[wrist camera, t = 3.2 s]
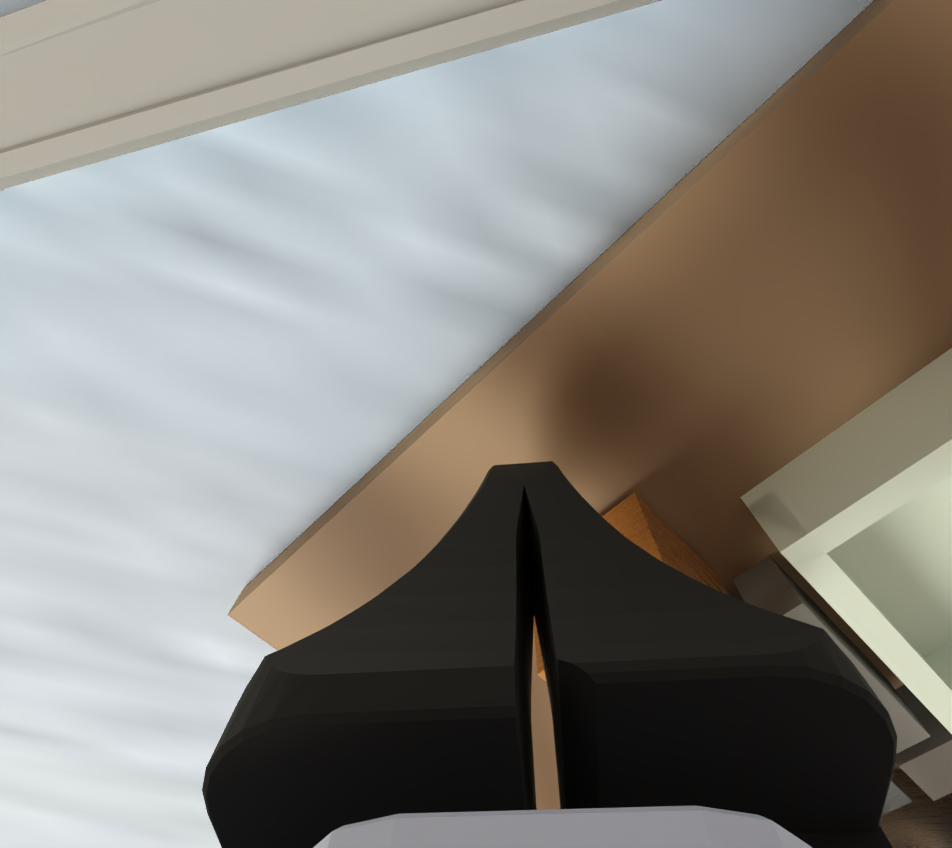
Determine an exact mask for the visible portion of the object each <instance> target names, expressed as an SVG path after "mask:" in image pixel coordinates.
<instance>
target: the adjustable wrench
mask: <svg viewBox="0 0 952 848" xmlns="http://www.w3.org/2000/svg"><path fill="white" fill-rule="evenodd" d="M657 1H661V0H46V1H43V2H41V3H38V4H35V5H33V6H30V7H27V8H25V9H22V10H19V11H17V12H14V13H11V14H9V15H6V16H3V17H1V18H0V191H1V190H3V189H5V188H8V187H12V186H15V185H19V184H22V183H26V182H29V181H33V180H36V179H40V178H43V177H47V176H50V175H54V174H57V173H61V172H64V171H68V170H71V169H75V168H78V167H82V166H85V165H89V164H92V163H96V162H99V161H103V160H106V159H110V158H113V157H117V156H120V155H124V154H127V153H131V152H134V151H137V150H141V149H144V148H148V147H151V146H155V145H158V144H162V143H165V142H169V141H172V140H176V139H179V138H183V137H186V136H190V135H193V134H197V133H200V132H204V131H207V130H211V129H214V128H218V127H221V126H225V125H228V124H232V123H235V122H239V121H242V120H246V119H249V118H253V117H256V116H260V115H263V114H267V113H270V112H274V111H277V110H280V109H284V108H287V107H291V106H294V105H298V104H301V103H305V102H308V101H312V100H315V99H319V98H322V97H326V96H329V95H333V94H336V93H340V92H343V91H347V90H350V89H354V88H357V87H361V86H364V85H368V84H371V83H375V82H378V81H382V80H385V79H389V78H392V77H396V76H399V75H403V74H406V73H410V72H413V71H416V70H420V69H423V68H427V67H430V66H434V65H437V64H441V63H444V62H448V61H451V60H455V59H458V58H462V57H465V56H469V55H472V54H476V53H479V52H483V51H486V50H490V49H493V48H497V47H500V46H504V45H507V44H511V43H514V42H518V41H521V40H525V39H528V38H532V37H535V36H539V35H542V34H546V33H549V32H553V31H556V30H559V29H563V28H566V27H570V26H573V25H577V24H580V23H584V22H587V21H591V20H594V19H598V18H601V17H605V16H608V15H612V14H615V13H619V12H622V11H626V10H629V9H633V8H636V7H640V6H643V5H647V4H650V3H654V2H657Z"/></svg>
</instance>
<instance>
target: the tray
mask: <svg viewBox="0 0 952 848" xmlns="http://www.w3.org/2000/svg"><path fill="white" fill-rule="evenodd" d="M740 498H741V499H742V500H743V502H744V503H745V504H746V506H747V507H748V509H749V510H750V511H751V513H752V514H753V516H754V517H755V518H756V520H757V521H758V522H759V524H760V525H761V527H762V528H763V529H764V531H765V532H766V533H767V535H768V536H769V538H770V539H771V540H772V542H773V543H774V545H775V546H776V547H777V549H778V550H779V551H780V553H781V554H782V555H783V556H784V557H785V558H786V559H787V560H788V561H789V562H790V563H791V564H792V565H793V567H794V568H795V569H796V570H797V571H798V572H799V573H800V574H801V575H802V576H803V577H804V578H805V579H806V580H807V581H808V582H809V583H810V585H811V586H812V587H813V588H814V589H815V590H816V591H817V592H818V593H819V594H820V595H821V596H822V597H823V598H824V599H825V600H826V602H827V603H828V604H829V605H830V606H831V607H832V608H833V609H834V610H835V611H836V612H837V613H838V614H839V615H840V616H841V617H842V619H843V620H844V621H845V622H846V623H847V624H848V625H849V626H850V627H851V628H852V629H853V630H854V631H855V632H856V633H857V634H858V636H859V637H860V638H861V639H862V640H863V641H864V642H865V643H866V644H867V645H868V646H869V647H870V648H871V649H872V650H873V651H874V652H875V654H876V655H877V656H878V657H879V658H880V659H881V660H882V661H883V662H884V663H885V664H886V665H887V666H888V667H889V668H890V669H891V671H892V672H893V673H894V674H895V675H896V676H897V677H898V678H899V679H900V680H901V681H902V682H903V683H904V684H905V685H906V686H907V688H908V689H909V690H910V691H911V692H912V693H913V694H914V695H915V696H916V697H917V698H918V699H919V700H920V701H921V702H922V703H923V705H924V706H925V707H926V708H927V709H928V710H929V711H930V712H931V713H932V714H933V715H934V716H935V717H936V718H937V719H938V720H939V721H940V723H941V724H942V725H943V726H944V727H945V728H946V729H947V730H948V731H949V732H950V733H951V734H952V348H951V349H949V350H948V351H947V352H945V353H944V354H942V355H941V356H940V357H938V358H937V359H935V360H934V361H932V362H931V363H930V364H928V365H927V366H925V367H924V368H923V369H921V370H920V371H918V372H917V373H915V374H914V375H913V376H911V377H910V378H908V379H907V380H906V381H904V382H903V383H901V384H900V385H898V386H897V387H896V388H894V389H893V390H891V391H890V392H889V393H887V394H886V395H884V396H883V397H882V398H880V399H879V400H877V401H876V402H874V403H873V404H872V405H870V406H869V407H867V408H866V409H865V410H863V411H862V412H860V413H859V414H857V415H856V416H855V417H853V418H852V419H850V420H849V421H848V422H846V423H845V424H843V425H842V426H840V427H839V428H838V429H836V430H835V431H833V432H832V433H831V434H829V435H828V436H826V437H825V438H823V439H822V440H821V441H819V442H818V443H816V444H815V445H814V446H812V447H811V448H809V449H808V450H807V451H805V452H804V453H802V454H801V455H799V456H798V457H797V458H795V459H794V460H792V461H791V462H790V463H788V464H787V465H785V466H784V467H782V468H781V469H780V470H778V471H777V472H775V473H774V474H773V475H771V476H770V477H768V478H767V479H765V480H764V481H763V482H761V483H760V484H758V485H757V486H756V487H754V488H753V489H751V490H750V491H749V492H747V493H746V494H744V495H743V496H741V497H740Z"/></svg>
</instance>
